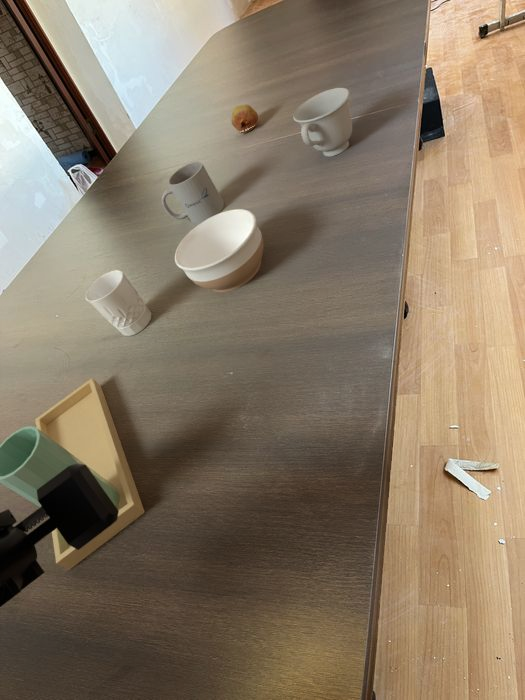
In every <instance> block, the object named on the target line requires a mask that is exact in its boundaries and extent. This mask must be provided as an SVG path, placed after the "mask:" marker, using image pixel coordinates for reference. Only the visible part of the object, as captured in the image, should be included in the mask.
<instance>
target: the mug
mask: <svg viewBox="0 0 525 700" xmlns="http://www.w3.org/2000/svg"><path fill="white" fill-rule="evenodd" d="M167 185H168V187H169V188H167V189H166V190H165V191H163V193H162V195H161V204H162V206H163V209H164V210H165V211H166V213H167V214H168V215H169V216H170V217H171V218H173V219H176V220H184V219H186V218H187V217H188V218H189V221H190V222H191V223H192V224H194V225H199V224H200V223H202V222H203V221H205V220H207V219H208V218H210V217H212V216H214V215H217V214H219V213H221V212H222V210H223V208H224V206H225V201H224V200H223V198H222V196H221V195H220V192H219V191H218V189H217V187H216V185H215V183H214V182H213V180H212V178H211V176H210V174H209V173H208V171H207V169H206V168H205V166H204V164H203V162H202V161H199V160H198V161H197V160H196V161H191V162H189V163H187V164H185V165H183V166H181V167H179V168H178V169H177V170H175V172H173V173H172V174H171V175H170V177H169V178H168V179H167ZM171 194H173V195H174V196H175V198H176V199H177V202H179V204H180V206H181V208H182V209H183V210H184V211H183V212H182V213H180V214H178V213H175V212H174V211H172V210H171V209H170V207H169V205H168V203H167V201H166V198H167V196H168V195H171Z"/></svg>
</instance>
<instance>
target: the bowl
mask: <svg viewBox="0 0 525 700" xmlns="http://www.w3.org/2000/svg"><path fill="white" fill-rule="evenodd" d="M264 243H265V242H264V238H263V235H262V232H261V230H260V228H259V226H258V224H257V218H256V215H255V214H254V213H253V212H251V211H250V210H248V209H243V208H235V209H230V210H225V211H221V212H219V213H218V214H217V215H214V216H212V217H210V218H208V219H207V220H205V221H203V222H202V223H200V224H197V225H196V226H195V227H193V228H192V229H191V230H190V231H188V233H187V234H186V235H185V236H184V237H183V238H182V240H181V241H180V242H179V244H178V246H177V248H176V250H175V253H174V262H175V265H176V266H177V267H178V268H179V269H181V270H183V271H184V273H185V276H187V278H188V279H190V280H191V281H192V282H193V284H195V285H197V286H199V287H201V288H203V289H206V290H207V289H208V290H212V291H214V292H216V293H227V292H231V291H234V290H236V289H239V288H240V287H243V286H244V285H246V284H247V283H248V282H249V281H251V280H252V279H253V278H254V277H255V276H256V274H258V271H260V268H261V265H262V257H263V254H264Z"/></svg>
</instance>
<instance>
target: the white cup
mask: <svg viewBox="0 0 525 700" xmlns="http://www.w3.org/2000/svg"><path fill="white" fill-rule="evenodd" d="M85 300H86V301H87V302H88V303H89V304H90V305H91V306H92V307H93V308H94V309H95V310H96V311H97V312H98V313H99V314H100V315H101V316H102V317H103V318H104V319H105V320H106V321H107V322H108V323H110V324H111V325H112V326H113V327H114V328H115V329H116V330H117V331H119V333H120V334H122V336H124V337H131V336H134V335H137V334H139V333H140V332H142V331H143V330H144V329H145V328H146V327H147V326H149V324H150V322H151V319H152V312H151V311H150V309H149V308H148V306H147V305H146V303H145V302H144V300H143V299H142V297H141V296H140V294H139V293H138V292H137V290H136V289H135V287H134V286H133V284H132V283H131V282H130V281H129V279H128V278H127V276H126V275H125V274H124V272H123V271H122V270H119V269H114V270H111V271H108V272H106V273H104V274H101V275H100V276H99V277H98V278H97V279H95V280H94V281H93V282H92V283H91V285H89V287H88V288H87V290H86V291H85Z"/></svg>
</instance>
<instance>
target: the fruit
mask: <svg viewBox="0 0 525 700" xmlns="http://www.w3.org/2000/svg"><path fill="white" fill-rule="evenodd" d="M230 121H231V125H232V126H233V127H234V128H235V129H236V131H237V132H238V131H242V130H244V132H241V133H240V134H248V133H249V132H251V131H252V130H253V129H254V128H255V127H256V125H257V123H258V121H259V114H258V112H257V111H256V110H255V109H254V108H253V107H252V106H251V105H250V104H243V105H238V106H236V107H234V108H233V109H232V114H231V119H230ZM255 124H256V125H255ZM254 125H255V126H254ZM252 126H254V127H252ZM250 127H252V128H250ZM247 128H250V129H249V130H247V131H245V129H247Z"/></svg>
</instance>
